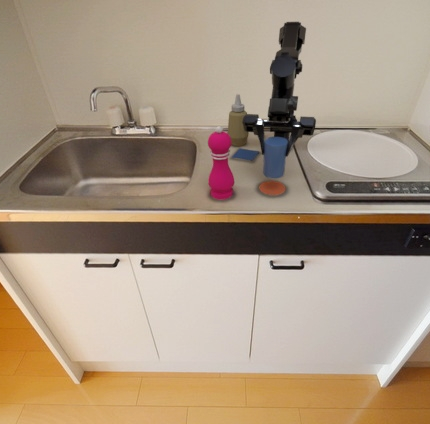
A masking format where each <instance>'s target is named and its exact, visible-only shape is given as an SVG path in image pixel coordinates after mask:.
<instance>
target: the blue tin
mask: <svg viewBox="0 0 430 424" xmlns="http://www.w3.org/2000/svg"><path fill="white" fill-rule="evenodd" d="M287 145H288V141H287V139H285V138H282V137H274V136H270V137H267V138H264V155H263V159H262V163H263V164H262V175H263V176H264V177H266V178H268V179H280V178H282V177H284V176H285V172H286V163H287V157H286V152H287Z"/></svg>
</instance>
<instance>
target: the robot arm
mask: <svg viewBox="0 0 430 424" xmlns="http://www.w3.org/2000/svg"><path fill="white" fill-rule="evenodd" d="M306 34H307V27H306V26H304V25H302V22H300V21H286V22H284V23H283V25H282V27H280V28H279V34H278V45H280V49H279V50H277V51H276V52H275V56H274V59H272V60H271V63H270V67H269V74H270V75H271V85H272V88H271V89H272V90H271V97H270V98H269V105H268V108H267V109H268V110H267V118H268V119H264V118H260V116H259V113H258V114H256V113H247V114H245V115H244V117H243V122H242V123H243V127H244V130H245V131H246V132H249V133H253V135H254V136H257V138H258V141H259V145H260V151H261V155H262V156H264V141H265V137H266V135H265V128H269V132H270V133H271V132H272V133H273V137H282V138H285V139H287V141H288V145H287V152H286V158H288V157H289V155H290V153H291V151H292V149H293V147H294V145H295V143H297V141H298V139H301V138H303V136H307V137H308V136H310V137H312V136H313V135H314V133H315V129H316V125H317V119H316V118H315V116H302V115H301V116H300V118H299V121H298V119H297V118H296V117H297V116H296V115H295V112H296V111H297V110H298V103H299V102H298V101H299V95H296V96H295V95H294V91H295V80H296V79H297V75H300V74H301V73H302V72H303V63H302V61H301V59H299V57H300V54H301V53H302V49H303V45H305V42H306Z"/></svg>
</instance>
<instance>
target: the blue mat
mask: <svg viewBox="0 0 430 424" xmlns="http://www.w3.org/2000/svg"><path fill="white" fill-rule="evenodd" d="M259 154H260V150H259V151H258V150H253V149H246V148H239V149H238V150H237V151H236V152H234V154H233V155H232V156H231V158H232V159H239V160H244V161H252V162H253V160H254V159H255V158H256V157H257V155H259Z"/></svg>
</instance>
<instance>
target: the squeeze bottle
mask: <svg viewBox="0 0 430 424" xmlns="http://www.w3.org/2000/svg"><path fill="white" fill-rule="evenodd" d="M245 114H248V111H246V110H245V104H244V103H242V99H241V95H240V94H239V93H238V94H236V95H235V100H234V104H231V110H230V111H229V113H228V122H227V123H228V124H227V134H228V135H229V136H230V137H231V142H232V143H231V146H233V147H242V146H244V145H246V144H247V141H248V138H249V135H250V132H246V131H245V130H244V127H243V123H242V122H243V117H244V115H245Z"/></svg>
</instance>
